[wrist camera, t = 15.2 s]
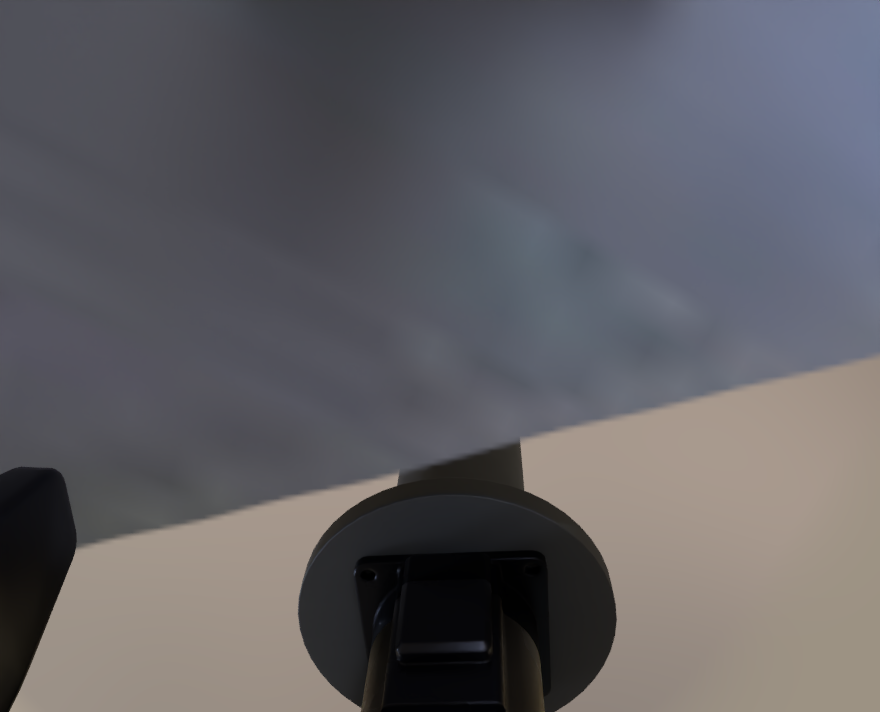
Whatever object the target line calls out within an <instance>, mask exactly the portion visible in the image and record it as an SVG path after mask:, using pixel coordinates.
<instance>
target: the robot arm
mask: <svg viewBox="0 0 880 712" xmlns="http://www.w3.org/2000/svg"><path fill="white" fill-rule="evenodd" d="M76 542H77V539H76V529H75V524H74V520H73V515H72V511H71V506H70V502H69V497H68V493H67V488H66V484H65V481H64V478H63V476H62V474H61V473H60V472H59V471H57V470H56V469H53V468H34V467H18V468H14V469H11V470H9V471H7V472H5V473H3V474H1V475H0V712H9V711H10V709H11V707H12V705H13V703H14V701H15V699H16V697H17V695H18V693H19V691H20V688H21V686H22V684H23V681H24V679H25V677H26V675H27V672H28V670H29V668H30V665H31V663H32V660H33V657H34V655H35V652H36V650H37V648H38V645H39V643H40V640H41V638H42V635H43V633H44V630H45V628H46V625H47V623H48V620H49V618H50V615H51V612H52V610H53V607H54V605H55V602H56V600H57V597H58V595H59V592H60V590H61V587H62V585H63V582H64V580H65V577H66V575H67V572H68V570H69V567H70V565H71V562H72V560H73V557H74V554H75V549H76ZM529 564H536V565H537V566H536V567H533V568H530V567H527V565H529ZM363 570H372V571H373V572H374V573H366V572H365V571H363ZM354 582H355V588H356V594H357V600H358V606H359V612H360V618H361V625H362V631H363V637H364V643H365V649H366V655H367V661H368V670H367V676H366V683H365V689H364V696H363V702H362V709H361V712H545V710H544V698H543V697H545V696H547V695H548V694H549V693H550V691H551V668H550V635H549V602H548V569H547V561H546V557H545V556H544V555H543V554H542V553H541V552H539V551H535V550H518V551H491V552H463V553H436V554H408V555H380V556H365V557H362V558H360V559H358V561H357V562H356V564H355V569H354Z"/></svg>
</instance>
